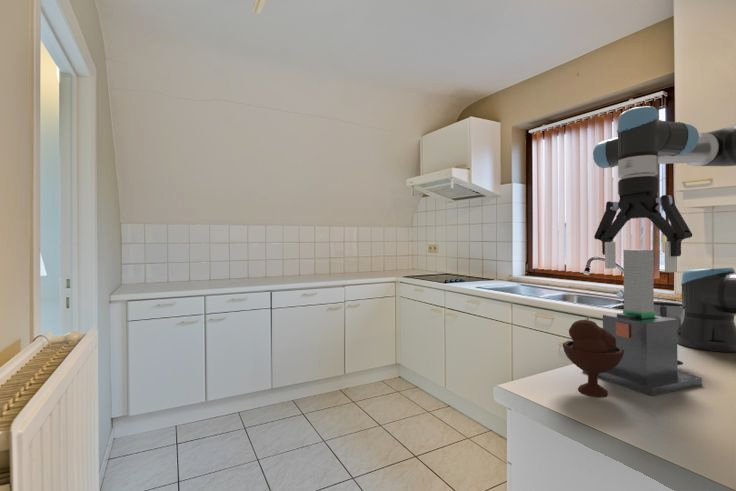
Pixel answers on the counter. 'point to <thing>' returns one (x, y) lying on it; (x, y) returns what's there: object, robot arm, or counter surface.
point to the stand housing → (647, 354)
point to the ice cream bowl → (592, 353)
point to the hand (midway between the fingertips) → (638, 270)
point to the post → (639, 284)
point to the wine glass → (671, 313)
